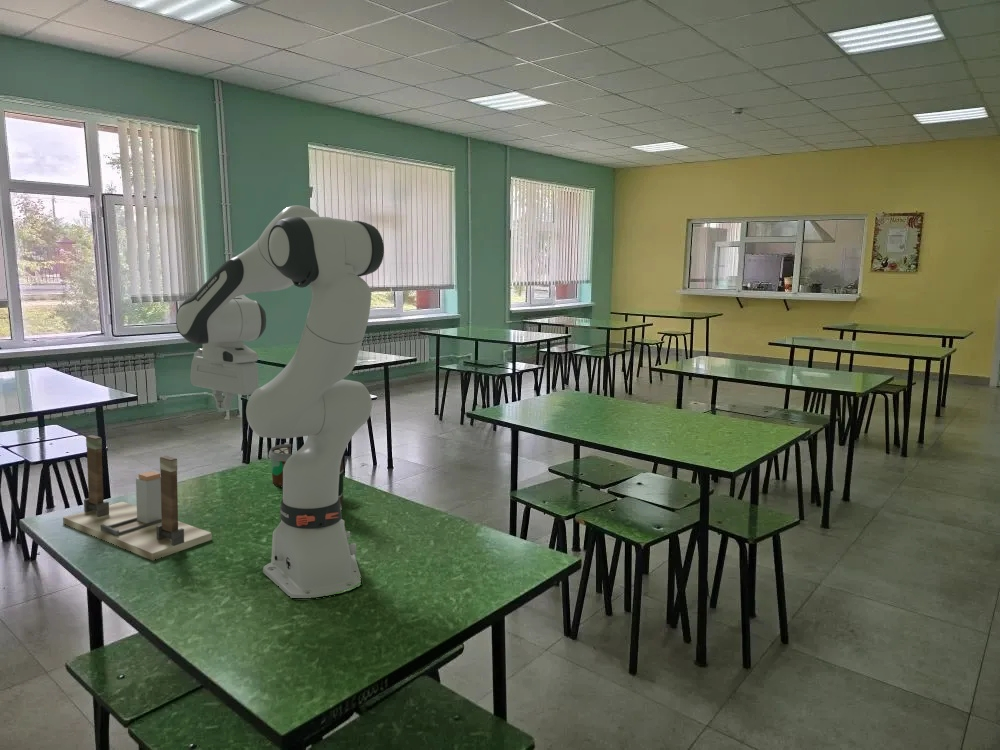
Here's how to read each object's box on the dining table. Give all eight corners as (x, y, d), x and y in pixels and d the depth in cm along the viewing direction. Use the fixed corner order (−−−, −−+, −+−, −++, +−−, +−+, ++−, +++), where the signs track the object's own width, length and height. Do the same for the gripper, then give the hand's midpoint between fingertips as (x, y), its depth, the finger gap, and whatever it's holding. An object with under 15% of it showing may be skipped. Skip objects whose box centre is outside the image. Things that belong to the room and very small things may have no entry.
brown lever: (168, 534, 146) (166, 455, 143) (179, 538, 144) (177, 458, 142) (160, 537, 144) (159, 457, 142) (171, 541, 143) (169, 460, 140)
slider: (153, 515, 158) (152, 470, 156) (163, 519, 156) (162, 473, 154) (137, 520, 154) (135, 474, 153) (147, 524, 152) (146, 477, 151)
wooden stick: (95, 507, 160) (93, 434, 157) (104, 511, 158) (102, 437, 155) (88, 509, 158) (85, 436, 155) (97, 513, 156) (94, 438, 154)
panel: (211, 539, 150) (211, 520, 149) (152, 560, 138) (152, 539, 137) (122, 507, 167) (122, 489, 166) (63, 523, 154) (62, 504, 154)
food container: (268, 476, 197) (268, 443, 196) (290, 476, 199) (290, 443, 197) (267, 490, 185) (267, 455, 184) (290, 489, 187) (291, 454, 186)
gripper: (182, 348, 160) (183, 404, 162) (240, 356, 150) (240, 417, 152) (206, 346, 165) (206, 401, 167) (263, 354, 155) (263, 413, 157)
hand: (223, 409), depth 160 cm, fingers closed
